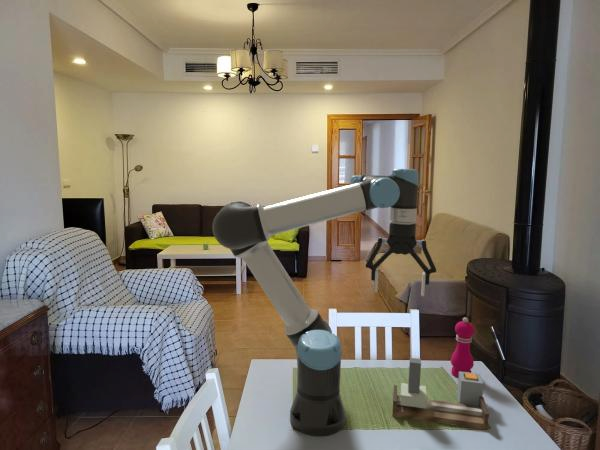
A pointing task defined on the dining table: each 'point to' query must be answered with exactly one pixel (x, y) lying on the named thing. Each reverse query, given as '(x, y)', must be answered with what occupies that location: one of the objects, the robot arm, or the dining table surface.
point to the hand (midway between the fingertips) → (399, 293)
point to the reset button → (470, 376)
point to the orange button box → (469, 389)
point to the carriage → (413, 387)
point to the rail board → (445, 412)
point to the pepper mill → (462, 348)
